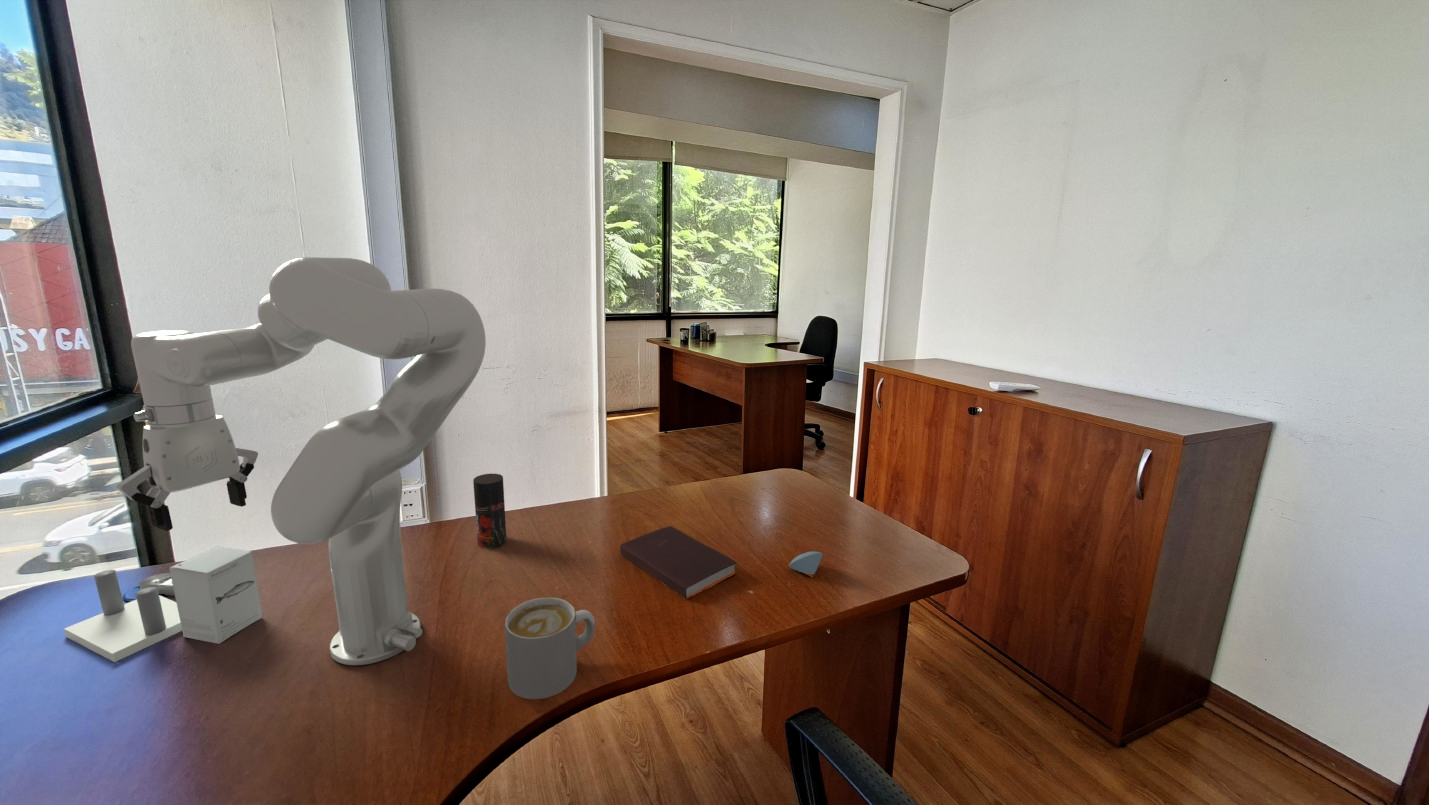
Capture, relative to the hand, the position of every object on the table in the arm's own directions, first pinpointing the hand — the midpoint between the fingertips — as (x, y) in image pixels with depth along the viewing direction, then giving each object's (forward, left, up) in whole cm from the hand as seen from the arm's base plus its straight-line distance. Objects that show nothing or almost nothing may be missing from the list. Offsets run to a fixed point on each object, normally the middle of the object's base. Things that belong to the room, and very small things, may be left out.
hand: (203, 516), depth 89 cm
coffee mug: (-57, -13, -19) cm, 62 cm away
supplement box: (-2, +1, -19) cm, 19 cm away
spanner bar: (+15, -3, -19) cm, 25 cm away
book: (-61, -49, -20) cm, 81 cm away
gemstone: (-86, -58, -19) cm, 106 cm away
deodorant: (-20, -40, -19) cm, 49 cm away
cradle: (+10, +7, -19) cm, 23 cm away
